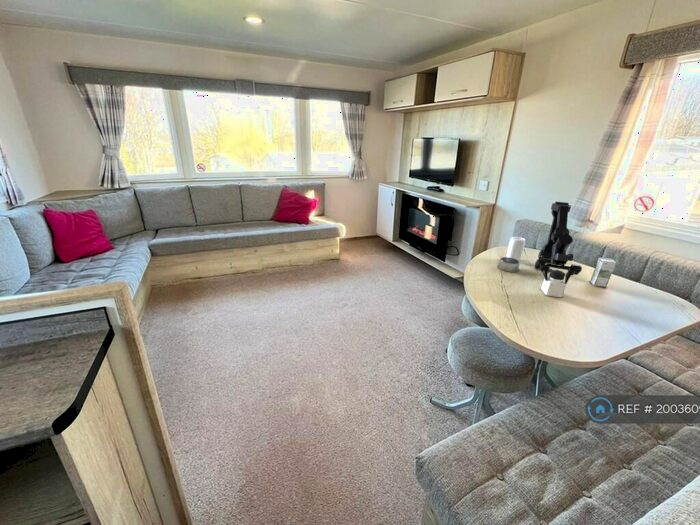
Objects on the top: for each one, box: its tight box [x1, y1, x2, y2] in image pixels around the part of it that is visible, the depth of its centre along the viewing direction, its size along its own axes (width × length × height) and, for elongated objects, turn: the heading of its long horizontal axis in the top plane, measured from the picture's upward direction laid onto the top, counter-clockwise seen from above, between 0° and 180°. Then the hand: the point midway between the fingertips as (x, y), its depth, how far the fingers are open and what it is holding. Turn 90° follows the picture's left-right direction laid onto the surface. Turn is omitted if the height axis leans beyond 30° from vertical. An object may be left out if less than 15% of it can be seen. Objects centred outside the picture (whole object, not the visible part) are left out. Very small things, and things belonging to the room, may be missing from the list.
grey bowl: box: [497, 256, 521, 273], centre depth 181 cm, size 10×10×5 cm
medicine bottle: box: [540, 269, 567, 298], centre depth 151 cm, size 7×7×12 cm
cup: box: [506, 236, 526, 261], centre depth 193 cm, size 8×8×14 cm
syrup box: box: [589, 257, 617, 288], centre depth 163 cm, size 6×6×14 cm
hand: (555, 282), depth 150 cm, fingers closed on medicine bottle, 8 cm apart
